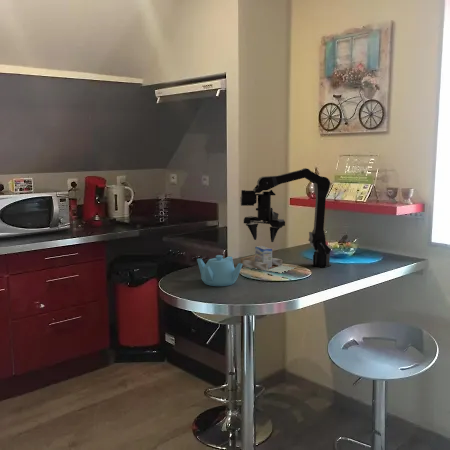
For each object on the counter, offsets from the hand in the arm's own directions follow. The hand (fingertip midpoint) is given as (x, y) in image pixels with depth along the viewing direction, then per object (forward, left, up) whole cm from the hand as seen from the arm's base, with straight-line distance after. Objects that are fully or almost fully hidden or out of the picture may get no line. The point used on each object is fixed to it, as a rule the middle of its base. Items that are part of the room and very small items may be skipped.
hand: (263, 240), depth 227 cm
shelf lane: (+1, 0, -12) cm, 12 cm away
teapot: (-3, +34, -12) cm, 36 cm away
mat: (-9, 0, -12) cm, 15 cm away
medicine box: (0, 0, -12) cm, 12 cm away
